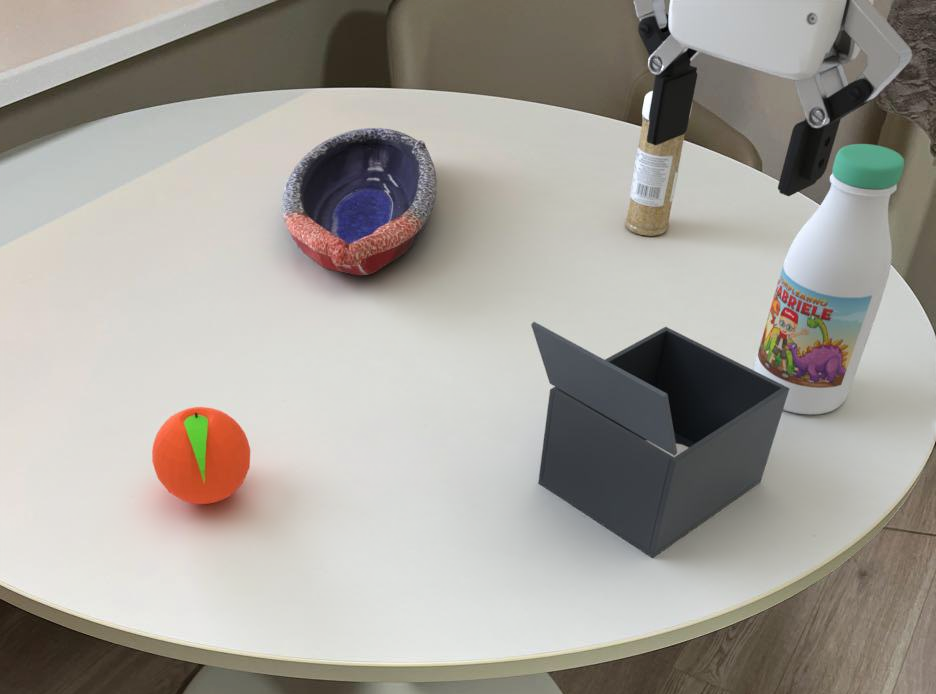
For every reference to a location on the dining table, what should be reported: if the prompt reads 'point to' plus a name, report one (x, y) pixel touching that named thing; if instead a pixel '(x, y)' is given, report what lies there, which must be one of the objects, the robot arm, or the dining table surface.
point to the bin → (649, 468)
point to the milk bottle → (832, 284)
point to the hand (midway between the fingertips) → (728, 162)
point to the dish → (360, 199)
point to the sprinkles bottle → (653, 181)
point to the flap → (607, 388)
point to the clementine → (201, 455)
